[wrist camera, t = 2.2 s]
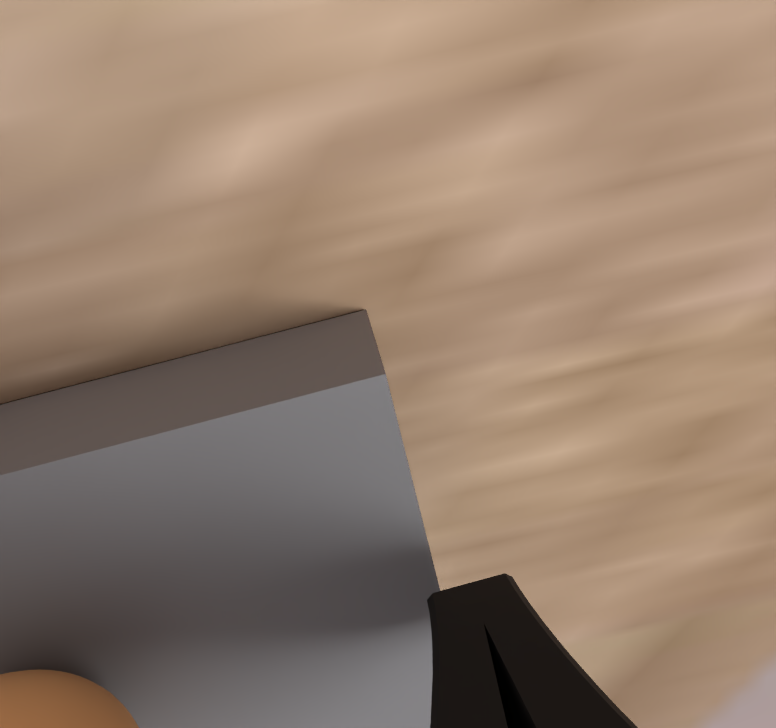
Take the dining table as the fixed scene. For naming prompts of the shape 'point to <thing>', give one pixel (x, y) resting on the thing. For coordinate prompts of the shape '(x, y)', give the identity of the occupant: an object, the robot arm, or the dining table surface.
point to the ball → (58, 702)
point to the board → (223, 538)
